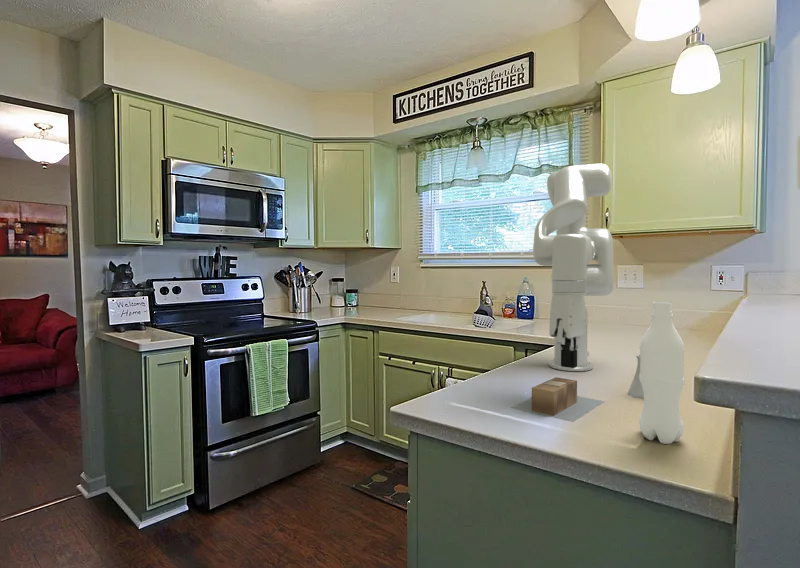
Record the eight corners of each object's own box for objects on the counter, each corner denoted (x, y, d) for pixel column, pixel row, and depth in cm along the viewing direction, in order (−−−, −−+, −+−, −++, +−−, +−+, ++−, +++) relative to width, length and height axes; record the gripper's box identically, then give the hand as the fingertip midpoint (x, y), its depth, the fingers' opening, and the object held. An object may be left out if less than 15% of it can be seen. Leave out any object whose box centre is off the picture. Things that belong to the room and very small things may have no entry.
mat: (547, 392, 116) (547, 390, 116) (605, 403, 106) (605, 401, 106) (510, 410, 103) (510, 407, 102) (573, 424, 93) (573, 421, 93)
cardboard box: (555, 376, 109) (531, 386, 100) (577, 379, 105) (553, 390, 96) (555, 398, 109) (531, 410, 100) (576, 402, 106) (553, 415, 97)
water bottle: (675, 432, 88) (676, 300, 87) (690, 447, 81) (692, 304, 80) (634, 430, 89) (634, 300, 88) (645, 445, 82) (646, 304, 81)
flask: (665, 402, 107) (665, 359, 106) (631, 401, 108) (631, 358, 108) (654, 393, 114) (655, 353, 113) (623, 392, 115) (623, 352, 115)
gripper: (566, 286, 115) (566, 359, 116) (539, 289, 104) (539, 370, 105) (597, 286, 110) (597, 363, 111) (571, 290, 99) (571, 375, 100)
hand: (569, 366), depth 108 cm, fingers closed
